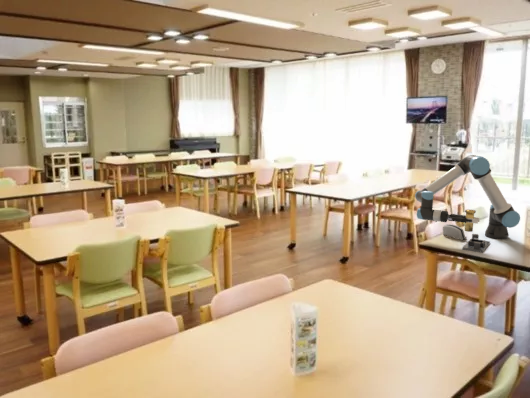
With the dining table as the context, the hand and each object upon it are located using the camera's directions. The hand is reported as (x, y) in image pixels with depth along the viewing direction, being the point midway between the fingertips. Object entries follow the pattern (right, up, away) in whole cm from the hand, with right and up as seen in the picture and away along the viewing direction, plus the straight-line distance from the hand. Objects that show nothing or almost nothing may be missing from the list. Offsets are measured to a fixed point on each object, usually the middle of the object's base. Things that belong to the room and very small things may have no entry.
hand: (478, 220), depth 310 cm
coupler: (-5, -7, +4) cm, 9 cm away
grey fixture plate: (+1, -17, +5) cm, 18 cm away
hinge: (-5, -13, +28) cm, 32 cm away
